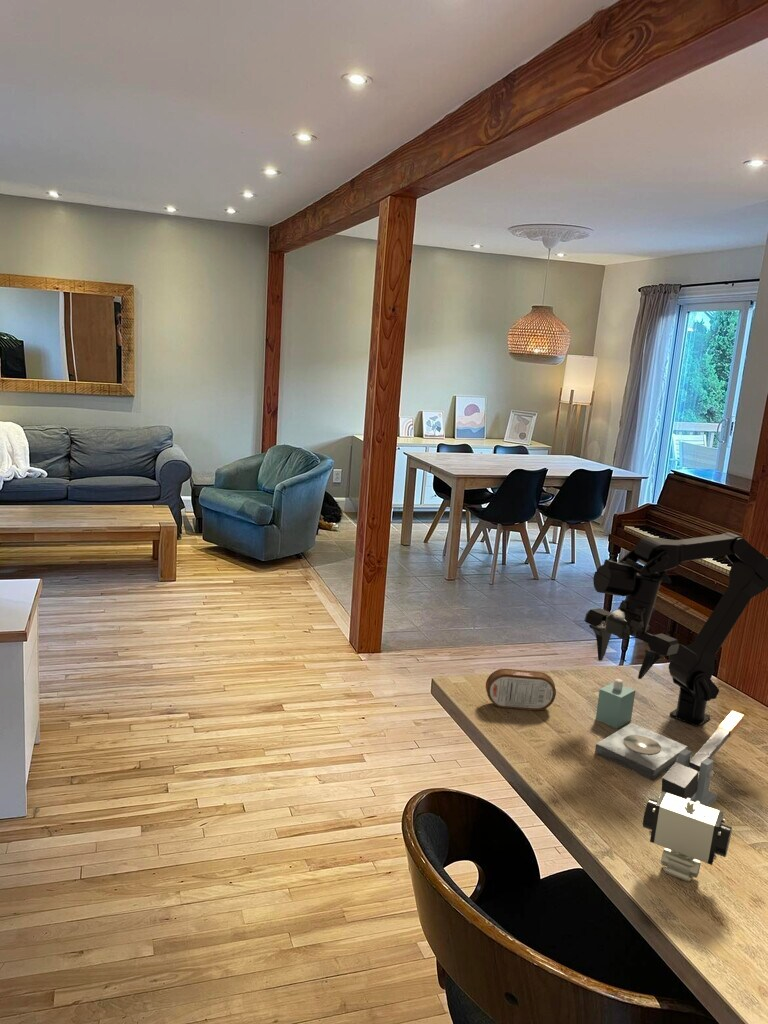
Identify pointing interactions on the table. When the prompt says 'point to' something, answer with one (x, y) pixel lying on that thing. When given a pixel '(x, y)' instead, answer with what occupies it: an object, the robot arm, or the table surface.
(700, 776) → the lever stand
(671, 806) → the pneumatic valve
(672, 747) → the press bed
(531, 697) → the tin
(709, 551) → the robot arm
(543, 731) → the table surface
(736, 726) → the lever
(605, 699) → the block
